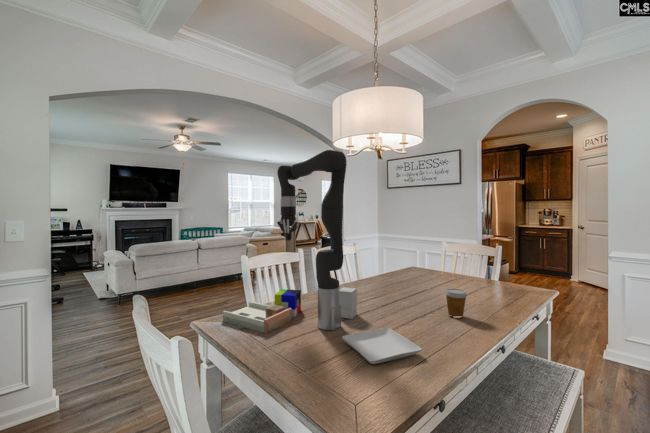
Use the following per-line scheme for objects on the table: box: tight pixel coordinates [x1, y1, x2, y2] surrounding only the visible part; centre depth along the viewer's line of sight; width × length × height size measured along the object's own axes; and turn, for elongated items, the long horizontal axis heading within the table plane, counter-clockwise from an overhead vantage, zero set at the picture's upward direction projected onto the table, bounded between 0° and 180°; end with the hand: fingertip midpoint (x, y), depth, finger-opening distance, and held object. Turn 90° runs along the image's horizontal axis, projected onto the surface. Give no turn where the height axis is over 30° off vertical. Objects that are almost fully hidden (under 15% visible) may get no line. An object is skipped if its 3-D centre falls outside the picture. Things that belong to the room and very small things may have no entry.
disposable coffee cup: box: [445, 288, 468, 317], centre depth 144 cm, size 10×10×12 cm
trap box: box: [222, 301, 293, 334], centre depth 139 cm, size 26×17×6 cm, turn 59°
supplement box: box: [339, 286, 358, 320], centre depth 145 cm, size 7×7×13 cm
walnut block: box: [266, 304, 285, 318], centre depth 137 cm, size 6×6×4 cm
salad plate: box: [341, 326, 422, 365], centre depth 110 cm, size 21×21×3 cm
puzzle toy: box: [274, 288, 302, 318], centre depth 150 cm, size 10×10×10 cm
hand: (288, 240), depth 152 cm, fingers closed
